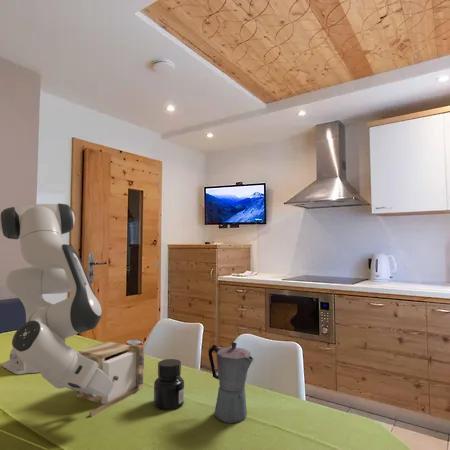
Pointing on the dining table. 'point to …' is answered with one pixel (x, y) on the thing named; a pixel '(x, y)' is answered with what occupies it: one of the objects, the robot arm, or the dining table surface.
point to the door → (120, 374)
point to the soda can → (136, 343)
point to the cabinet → (109, 352)
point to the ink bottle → (169, 385)
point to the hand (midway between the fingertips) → (93, 393)
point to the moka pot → (231, 382)
